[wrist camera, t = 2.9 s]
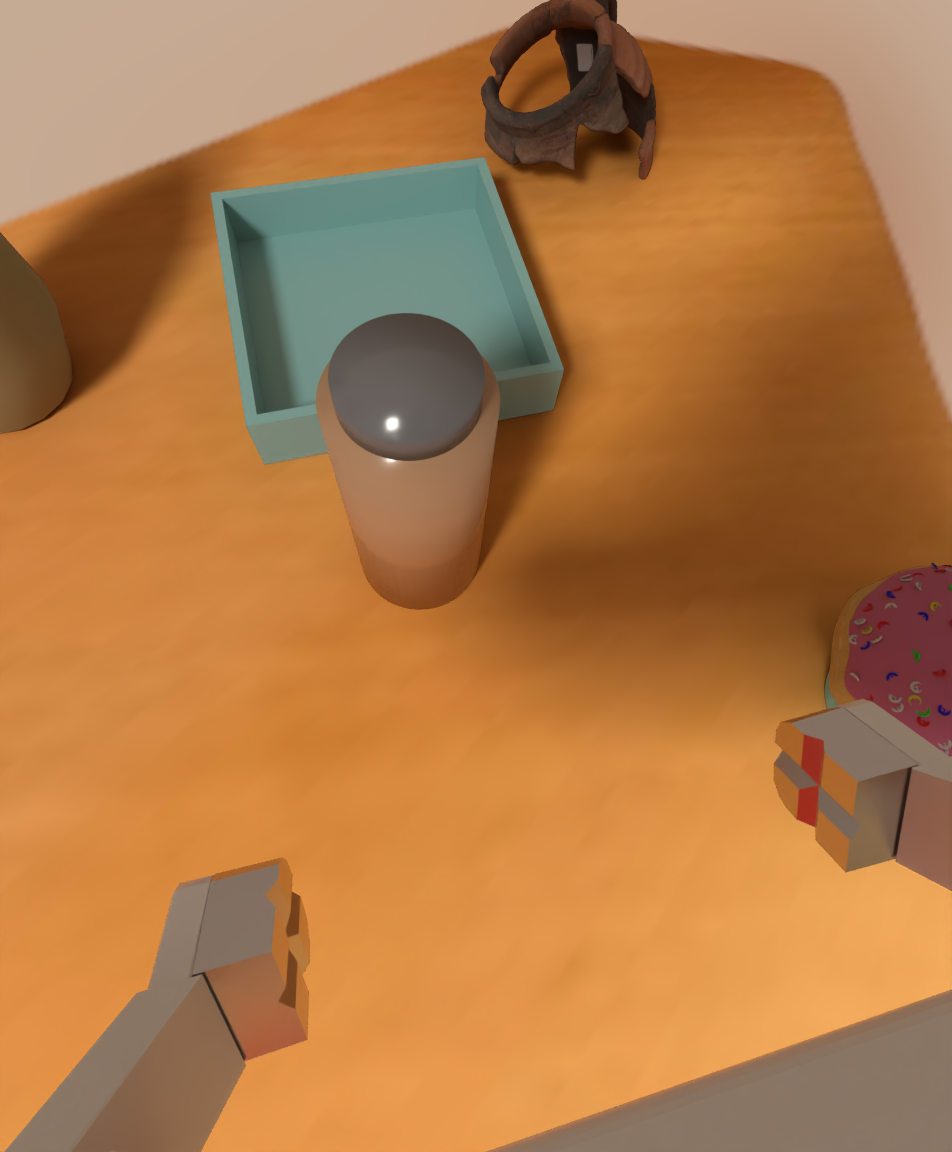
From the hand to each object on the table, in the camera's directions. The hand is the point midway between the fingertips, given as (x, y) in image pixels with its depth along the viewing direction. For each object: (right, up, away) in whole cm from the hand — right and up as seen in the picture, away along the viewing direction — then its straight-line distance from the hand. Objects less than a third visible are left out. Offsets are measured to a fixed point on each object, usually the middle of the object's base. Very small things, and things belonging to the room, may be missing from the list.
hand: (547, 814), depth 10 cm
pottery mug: (+4, +30, +29) cm, 42 cm away
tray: (-6, +17, +23) cm, 29 cm away
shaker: (-4, +5, +18) cm, 19 cm away
